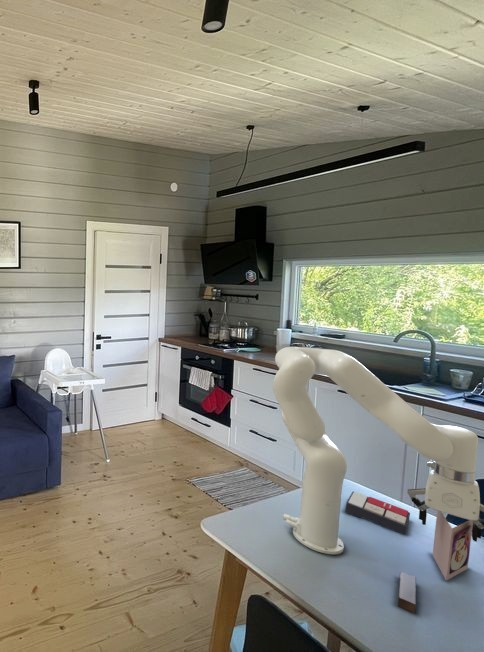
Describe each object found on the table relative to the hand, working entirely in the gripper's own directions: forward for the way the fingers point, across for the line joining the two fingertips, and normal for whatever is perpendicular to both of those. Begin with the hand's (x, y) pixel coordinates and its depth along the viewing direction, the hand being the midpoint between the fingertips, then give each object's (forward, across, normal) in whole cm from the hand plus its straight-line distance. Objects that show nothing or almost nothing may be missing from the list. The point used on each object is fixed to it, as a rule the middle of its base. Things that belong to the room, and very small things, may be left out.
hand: (448, 530), depth 111 cm
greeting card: (+11, 0, 0) cm, 11 cm away
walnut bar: (+11, -7, -21) cm, 25 cm away
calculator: (+11, -15, +17) cm, 25 cm away
